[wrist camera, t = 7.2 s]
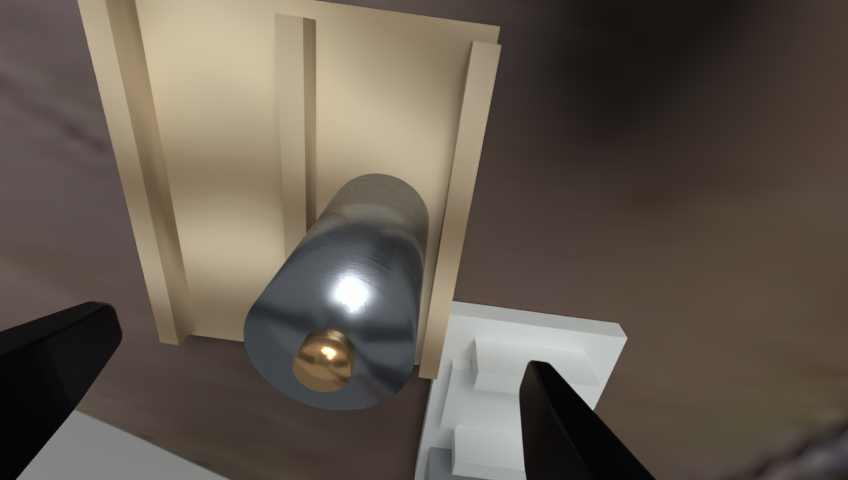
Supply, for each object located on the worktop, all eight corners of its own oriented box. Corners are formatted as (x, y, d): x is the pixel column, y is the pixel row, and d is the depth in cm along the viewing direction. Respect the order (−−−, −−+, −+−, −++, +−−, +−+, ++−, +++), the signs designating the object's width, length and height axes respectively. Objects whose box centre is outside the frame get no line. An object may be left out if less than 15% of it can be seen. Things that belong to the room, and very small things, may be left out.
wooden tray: (436, 349, 19) (435, 387, 17) (194, 316, 19) (162, 351, 17) (495, 28, 13) (505, 24, 11) (132, -23, 13) (68, -37, 10)
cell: (422, 270, 16) (402, 442, 9) (329, 257, 16) (238, 420, 9) (435, 181, 14) (423, 310, 7) (331, 166, 14) (219, 282, 7)
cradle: (547, 480, 23) (562, 542, 20) (415, 463, 23) (411, 522, 20) (618, 323, 18) (651, 376, 15) (445, 300, 18) (445, 348, 15)
